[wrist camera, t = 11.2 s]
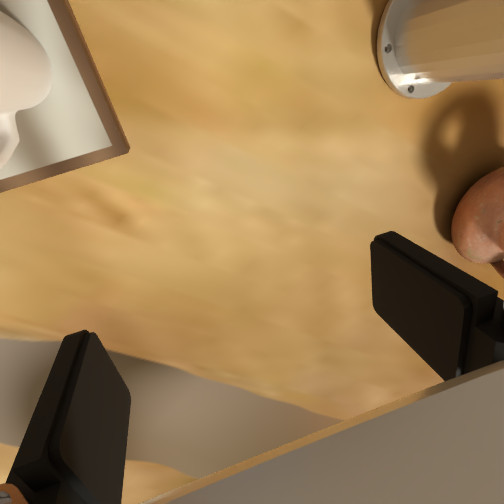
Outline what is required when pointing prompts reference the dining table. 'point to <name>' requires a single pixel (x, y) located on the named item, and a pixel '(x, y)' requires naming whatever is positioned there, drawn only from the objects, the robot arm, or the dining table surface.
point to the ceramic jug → (482, 222)
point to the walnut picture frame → (61, 102)
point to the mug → (19, 79)
